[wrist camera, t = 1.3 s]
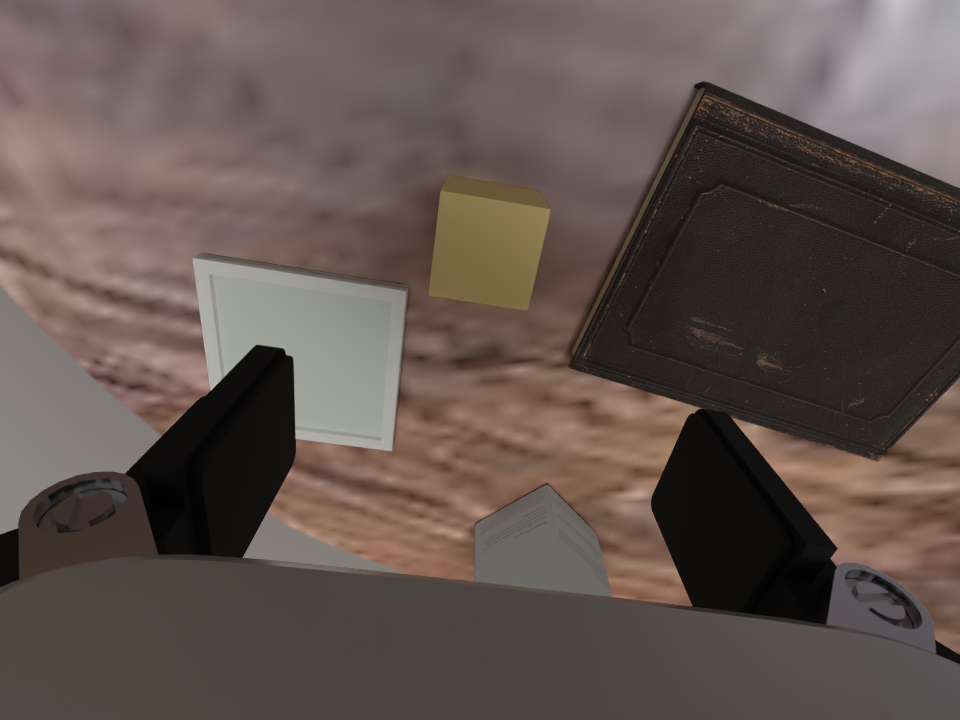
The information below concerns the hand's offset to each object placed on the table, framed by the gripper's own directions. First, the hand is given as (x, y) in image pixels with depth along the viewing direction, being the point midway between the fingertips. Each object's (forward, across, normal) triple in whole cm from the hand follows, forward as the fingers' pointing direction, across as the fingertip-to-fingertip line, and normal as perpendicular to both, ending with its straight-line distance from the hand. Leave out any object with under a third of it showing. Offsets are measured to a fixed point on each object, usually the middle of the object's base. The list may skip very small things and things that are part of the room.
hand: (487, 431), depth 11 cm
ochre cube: (+18, 0, -1) cm, 18 cm away
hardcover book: (+18, -19, 0) cm, 27 cm away
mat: (+18, +10, +9) cm, 22 cm away
